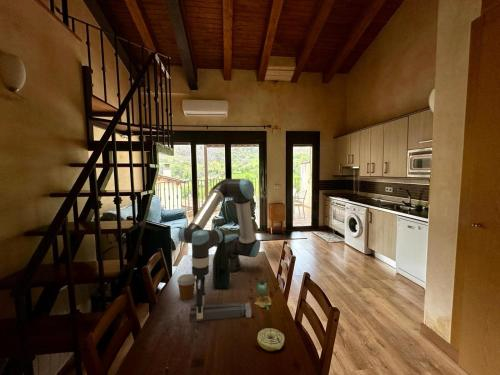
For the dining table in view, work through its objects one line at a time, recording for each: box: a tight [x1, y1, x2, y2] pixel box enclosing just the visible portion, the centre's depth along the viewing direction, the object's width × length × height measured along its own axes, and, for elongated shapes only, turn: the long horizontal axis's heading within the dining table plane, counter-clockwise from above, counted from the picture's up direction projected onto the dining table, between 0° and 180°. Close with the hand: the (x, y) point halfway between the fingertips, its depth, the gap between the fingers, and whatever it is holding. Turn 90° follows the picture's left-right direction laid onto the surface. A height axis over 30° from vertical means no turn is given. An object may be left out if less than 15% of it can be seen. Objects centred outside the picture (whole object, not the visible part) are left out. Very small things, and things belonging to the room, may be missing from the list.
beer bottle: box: [211, 230, 231, 291], centre depth 141 cm, size 10×10×33 cm
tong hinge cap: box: [244, 302, 252, 319], centre depth 115 cm, size 7×2×4 cm, turn 6°
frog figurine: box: [254, 276, 272, 311], centre depth 126 cm, size 10×18×15 cm, turn 1°
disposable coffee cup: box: [176, 273, 196, 302], centre depth 128 cm, size 10×10×12 cm
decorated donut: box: [256, 327, 285, 352], centre depth 97 cm, size 10×11×4 cm
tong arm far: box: [189, 302, 245, 312], centre depth 115 cm, size 2×25×4 cm, turn 95°
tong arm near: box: [188, 306, 246, 322], centre depth 111 cm, size 2×25×4 cm, turn 99°
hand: (200, 313), depth 112 cm, fingers open, 7 cm apart
